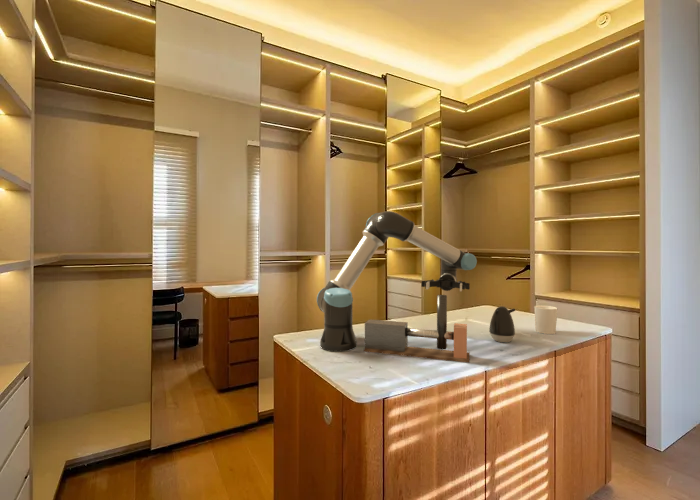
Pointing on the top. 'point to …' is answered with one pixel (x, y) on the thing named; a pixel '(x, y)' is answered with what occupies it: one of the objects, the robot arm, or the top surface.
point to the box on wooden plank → (386, 335)
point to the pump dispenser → (502, 325)
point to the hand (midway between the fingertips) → (443, 287)
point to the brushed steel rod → (441, 331)
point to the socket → (460, 340)
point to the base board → (424, 353)
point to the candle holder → (545, 319)
